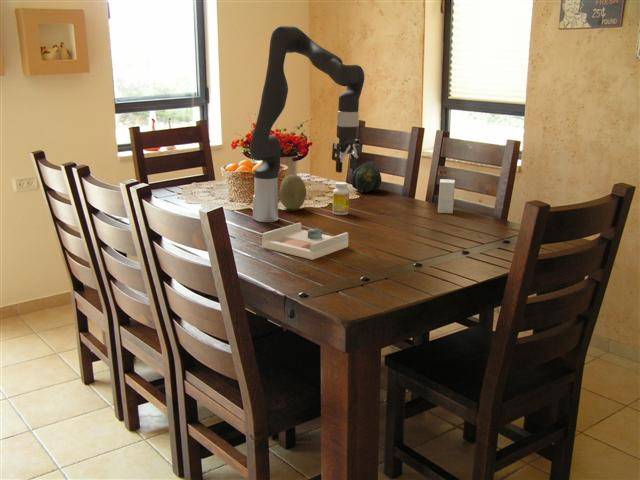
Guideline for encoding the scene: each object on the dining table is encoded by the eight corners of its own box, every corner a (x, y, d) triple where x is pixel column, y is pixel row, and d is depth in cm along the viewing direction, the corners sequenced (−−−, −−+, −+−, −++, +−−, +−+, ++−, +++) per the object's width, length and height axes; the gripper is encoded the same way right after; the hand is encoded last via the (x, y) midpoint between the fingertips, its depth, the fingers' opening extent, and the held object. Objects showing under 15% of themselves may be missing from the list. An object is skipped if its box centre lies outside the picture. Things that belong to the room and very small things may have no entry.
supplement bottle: (347, 215, 292) (347, 185, 288) (331, 214, 293) (331, 184, 289) (349, 212, 298) (350, 181, 294) (334, 211, 299) (334, 181, 296)
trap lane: (262, 247, 246) (262, 233, 244) (299, 235, 261) (299, 222, 260) (312, 259, 233) (312, 244, 232) (348, 246, 248) (348, 232, 247)
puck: (304, 237, 250) (304, 230, 249) (313, 234, 253) (313, 227, 253) (315, 240, 247) (316, 233, 246) (324, 237, 250) (324, 230, 250)
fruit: (311, 208, 303) (311, 173, 299) (296, 213, 294) (296, 177, 290) (289, 205, 309) (289, 170, 305) (273, 209, 300) (273, 174, 296)
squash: (343, 181, 333) (365, 158, 329) (347, 177, 348) (368, 155, 343) (365, 202, 334) (387, 180, 330) (368, 197, 348) (389, 175, 344)
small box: (452, 213, 298) (455, 183, 295) (437, 212, 299) (439, 182, 296) (453, 209, 306) (455, 179, 302) (438, 208, 307) (439, 178, 303)
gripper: (350, 121, 254) (348, 166, 258) (326, 125, 243) (325, 172, 247) (368, 123, 249) (365, 169, 254) (344, 127, 238) (343, 175, 243)
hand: (345, 170), depth 251 cm, fingers open, 8 cm apart
